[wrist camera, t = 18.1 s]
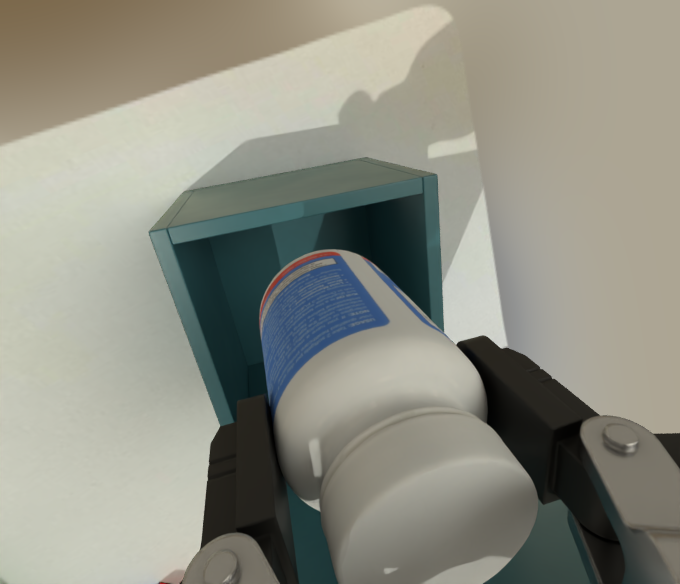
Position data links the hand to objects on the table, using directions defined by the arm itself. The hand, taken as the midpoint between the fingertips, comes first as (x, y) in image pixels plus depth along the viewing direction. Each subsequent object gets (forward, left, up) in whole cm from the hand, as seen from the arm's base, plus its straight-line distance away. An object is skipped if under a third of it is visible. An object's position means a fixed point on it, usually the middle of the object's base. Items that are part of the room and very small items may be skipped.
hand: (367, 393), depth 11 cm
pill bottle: (0, 0, -6) cm, 6 cm away
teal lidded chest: (+4, 0, -21) cm, 22 cm away
